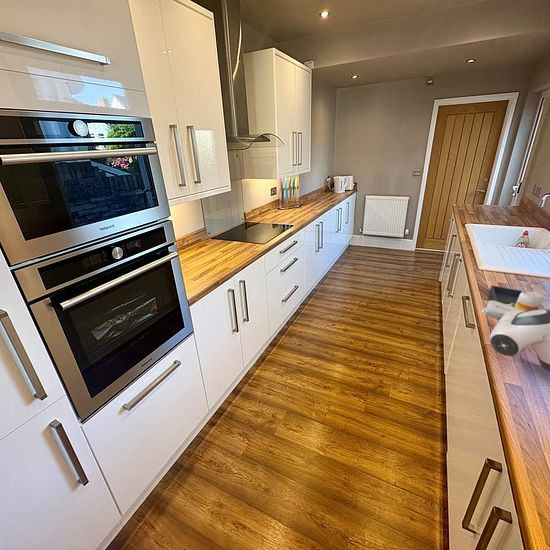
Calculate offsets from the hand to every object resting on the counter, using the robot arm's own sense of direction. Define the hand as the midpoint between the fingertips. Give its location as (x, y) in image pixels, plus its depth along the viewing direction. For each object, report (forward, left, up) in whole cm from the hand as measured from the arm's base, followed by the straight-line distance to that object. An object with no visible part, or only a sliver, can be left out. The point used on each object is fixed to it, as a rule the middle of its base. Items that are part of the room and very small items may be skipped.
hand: (525, 309), depth 103 cm
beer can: (0, +1, -9) cm, 9 cm away
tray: (0, -22, -8) cm, 24 cm away
